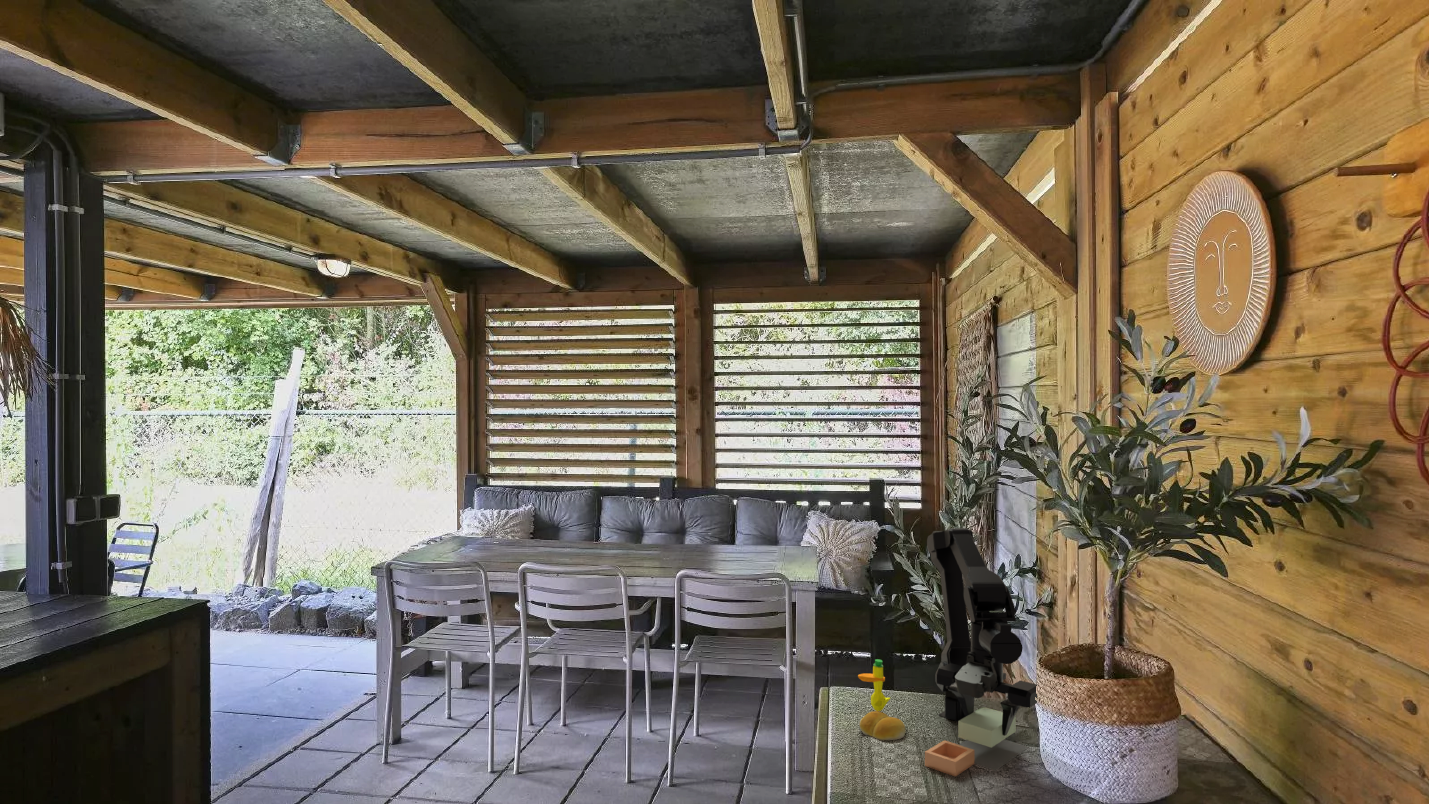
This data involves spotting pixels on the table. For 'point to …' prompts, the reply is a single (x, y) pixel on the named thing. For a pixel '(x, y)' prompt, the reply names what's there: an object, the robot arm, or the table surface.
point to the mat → (994, 753)
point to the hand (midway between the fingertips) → (987, 729)
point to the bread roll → (882, 726)
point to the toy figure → (876, 685)
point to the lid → (984, 727)
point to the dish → (949, 758)
